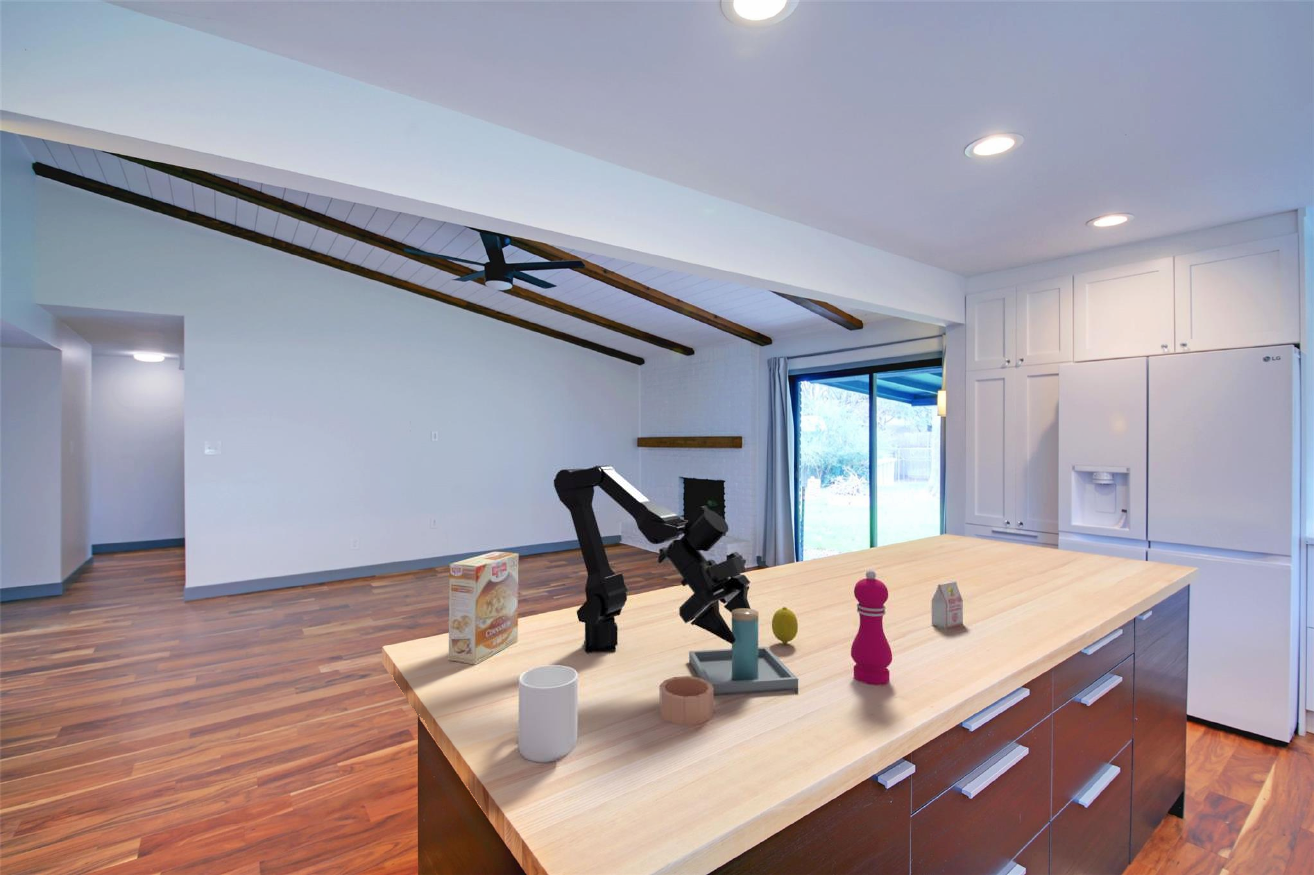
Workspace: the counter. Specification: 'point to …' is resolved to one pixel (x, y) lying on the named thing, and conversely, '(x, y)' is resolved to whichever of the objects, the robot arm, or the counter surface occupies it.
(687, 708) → the terracotta cup
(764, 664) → the tray
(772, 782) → the counter surface
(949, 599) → the milk carton
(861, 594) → the pepper mill
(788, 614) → the lemon
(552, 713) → the mug
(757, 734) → the counter surface
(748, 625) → the spice jar
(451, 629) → the coffeecake box
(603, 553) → the robot arm
